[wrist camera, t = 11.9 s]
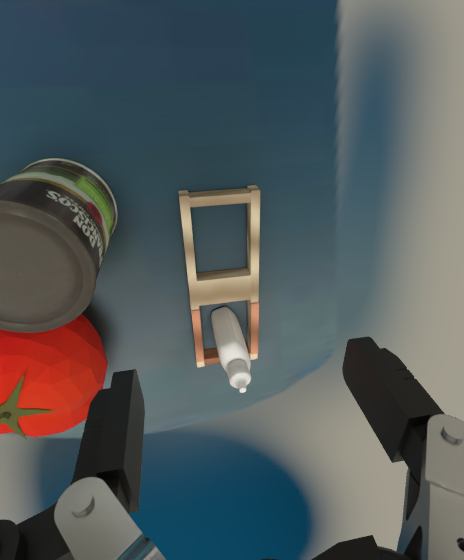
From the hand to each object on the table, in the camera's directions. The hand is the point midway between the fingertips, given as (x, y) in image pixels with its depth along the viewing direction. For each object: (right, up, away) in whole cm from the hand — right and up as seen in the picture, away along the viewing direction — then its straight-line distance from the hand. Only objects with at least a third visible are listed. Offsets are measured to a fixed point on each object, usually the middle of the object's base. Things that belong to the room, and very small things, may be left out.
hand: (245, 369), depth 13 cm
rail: (-2, +3, +30) cm, 30 cm away
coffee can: (-18, +11, +23) cm, 31 cm away
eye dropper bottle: (-1, -2, +34) cm, 34 cm away
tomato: (-22, -3, +30) cm, 37 cm away
